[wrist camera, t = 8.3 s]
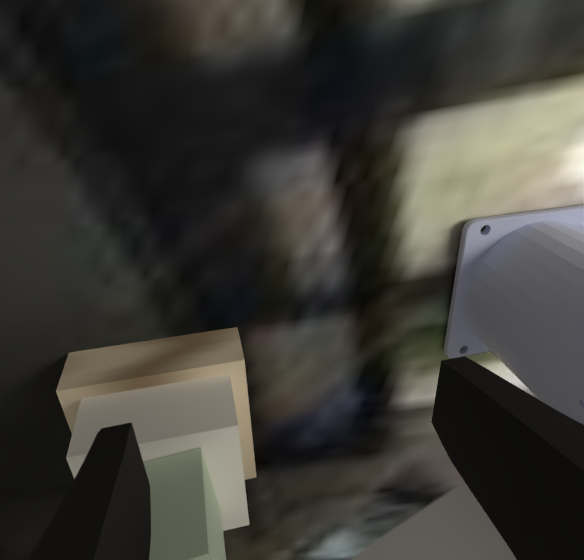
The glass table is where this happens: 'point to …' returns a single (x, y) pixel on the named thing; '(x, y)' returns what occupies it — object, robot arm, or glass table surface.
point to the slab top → (175, 432)
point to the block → (184, 509)
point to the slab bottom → (161, 374)
